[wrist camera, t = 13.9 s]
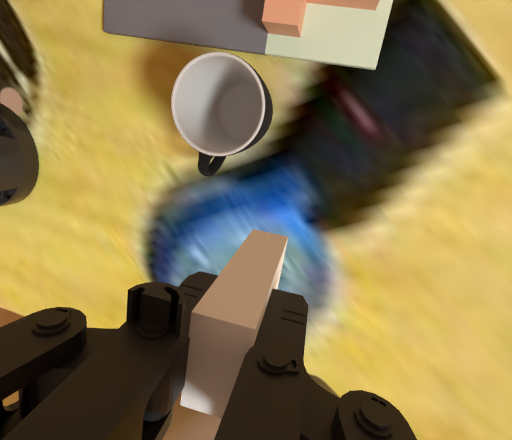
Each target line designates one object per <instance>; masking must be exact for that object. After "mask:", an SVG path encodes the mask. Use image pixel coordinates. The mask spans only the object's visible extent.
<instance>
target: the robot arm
mask: <svg viewBox="0 0 512 440" xmlns="http://www.w3.org/2000/svg"><path fill="white" fill-rule="evenodd" d="M38 170H39V162H38V154H37V150H36V146H35V143H34V140H33V138H32V136H31V134H30V132H29V130H28V129H27V127H26V126H25V124H24V123H23V121H22V120H21V119H20V118H19V117H18V116H17V115H16V114H15V113H14V112H13V111H12V110H10V109H9V108H8V107H6V106H4V105H3V104H1V103H0V206H5V205H10V204H14V203H17V202H20V201H22V200H23V199H25V198H26V197H27V196H28V195H29V194H30V193H31V191H32V190H33V188H34V186H35V184H36V181H37V177H38ZM287 240H288V237H286V236H281V235H277V234H272V233H268V232H264V231H259V230H255V229H253V230H252V232H251V233H250V234H249V236H248V237H247V238H246V240H245V241H244V242H243V244H242V245H241V246H240V248H239V249H238V250H237V252H236V253H235V254H234V256H233V257H232V258H231V260H230V261H229V262H228V264H227V265H226V266H225V268H224V269H223V270H222V272H221V273H220V274H219V276H217V275H213V274H209V273H205V272H201V271H200V272H197V273H195V274H192V275H190V276H188V277H187V278H186V279H185V280H184V281H183V282H182V283H181V285H179V286H178V287H176V286H173V285H171V284H168V283H161V282H150V283H143V284H139V285H136V286H134V287H132V288H130V289H129V290H128V301H127V321H126V322H125V323H124V324H123V325H122V326H121V327H120V328H119V329H103V328H87V322H86V316H85V315H84V314H83V313H82V312H81V311H80V310H76V309H73V308H67V307H56V308H49V309H44V310H41V311H38V312H35V313H32V314H30V315H28V316H25V317H23V318H21V319H19V320H16V321H14V322H12V323H9V324H7V325H5V326H3V327H0V440H162V439H163V437H164V435H165V433H166V431H167V429H168V428H169V426H170V423H171V420H172V416H173V409H174V404H175V402H176V400H177V398H178V396H179V395H180V392H181V391H182V396H181V406H185V407H188V408H191V409H194V410H197V411H200V412H203V413H206V414H209V415H212V416H215V417H219V418H222V420H221V423H220V426H219V428H218V431H217V434H216V436H215V439H214V440H417V439H416V437H415V435H414V433H413V431H412V429H411V428H410V426H409V424H408V422H407V421H406V419H405V418H404V417H403V415H402V414H401V413H400V411H399V410H398V409H397V408H395V407H394V406H393V405H392V404H391V403H390V402H388V401H387V400H385V399H383V398H382V397H380V396H378V395H376V394H374V393H370V392H366V391H362V390H358V391H349V392H348V393H346V394H344V395H342V397H341V399H340V398H338V397H337V396H335V395H333V394H331V393H329V392H328V391H326V390H325V389H323V388H322V387H320V386H319V385H318V384H317V383H315V381H313V379H311V377H310V376H309V374H308V373H307V371H306V369H305V366H304V361H303V356H304V346H305V335H306V324H307V314H308V304H307V303H306V301H305V299H304V297H303V296H301V295H297V294H293V293H289V292H285V291H281V290H277V289H278V284H279V279H280V274H281V269H282V265H283V260H284V255H285V250H286V245H287ZM16 391H18V393H19V400H18V401H17V402H15V403H13V404H11V405H9V406H3V402H2V400H3V399H5V398H6V397H8V396H9V395H11V394H12V393H14V392H16Z"/></svg>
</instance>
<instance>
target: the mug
mask: <svg viewBox="0 0 512 440" xmlns="http://www.w3.org/2000/svg"><path fill="white" fill-rule="evenodd" d="M171 111H172V116H173V120H174V123H175V125H176V127H177V130H178V131H179V133H180V135H181V136H182V137H183V139H184V140H185V141H186V142H187V143H188V144H189V145H190V146H192V147H193V148H194V149H196V150H198V151H199V160H198V169H199V172H200V173H201V174H202V175H204V176H212V175H214V174H215V173H216V172H217V171H218V169H219V168H220V167H221V165H222V163H223V162H224V160H225V158H226V156H229V155H233V154H237V153H239V152H242V151H244V150H246V149H248V148H250V147H251V146H253V145H254V144H256V143H257V142H258V141H259V140H260V139H261V138H262V137H263V136H264V135H265V133H266V132H267V130H268V128H269V126H270V124H271V120H272V114H273V106H272V100H271V96H270V93H269V91H268V89H267V87H266V85H265V83H264V81H263V80H262V78H261V77H260V75H259V74H258V73H257V72H256V70H255V69H254V68H253V67H252V66H251V65H250V64H248V63H247V62H246V61H244V60H243V59H241V58H240V57H238V56H236V55H233V54H230V53H226V52H209V53H205V54H202V55H200V56H197V57H196V58H194V59H193V60H191V61H190V62H189V63H188V64H187V65H186V66H185V67H184V68H183V69H182V70H181V72H180V73H179V75H178V77H177V79H176V81H175V83H174V86H173V90H172V95H171ZM213 156H215V157H214V159H213V161H212V162H211V163H210V160H211V159H212V157H213ZM209 163H210V165H209Z"/></svg>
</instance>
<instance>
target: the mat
mask: <svg viewBox="0 0 512 440" xmlns="http://www.w3.org/2000/svg"><path fill="white" fill-rule="evenodd" d="M392 2H393V0H380V1H379V4H378V6H377V8H376V11H375V10H366V9H357V8H348V7H339V6H330V5H321V4H312V3H307V5H306V10H305V16H304V21H303V27H302V32H301V37H300V38H299V37H292V36H284V35H276V34H269V33H268V31H267V30H266V28H265V26H264V24H263V22H262V17H263V10H264V3H265V0H104V32H106V33H109V34H116V35H124V36H131V37H138V38H145V39H153V40H160V41H167V42H174V43H182V44H189V45H196V46H203V47H211V48H218V49H225V50H232V51H239V52H247V53H254V54H261V55H268V56H276V57H283V58H290V59H297V60H305V61H312V62H319V63H326V64H334V65H341V66H348V67H355V68H363V69H370V70H375V69H376V66H377V62H378V58H379V54H380V50H381V46H382V42H383V38H384V34H385V30H386V26H387V22H388V18H389V14H390V10H391V6H392Z"/></svg>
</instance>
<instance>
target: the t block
mask: <svg viewBox="0 0 512 440" xmlns="http://www.w3.org/2000/svg"><path fill="white" fill-rule="evenodd" d="M379 1H380V0H265V3H264V10H263V17H262V22H263V24H264V26H265V28H266V30H267V31H268V33H269V34H276V35H284V36H292V37H299V38H300V37H301V32H302V27H303V21H304V16H305V10H306V5H307V3H312V4H321V5H330V6H339V7H348V8H357V9H366V10H375V11H376V8H377V6H378V4H379Z"/></svg>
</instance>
